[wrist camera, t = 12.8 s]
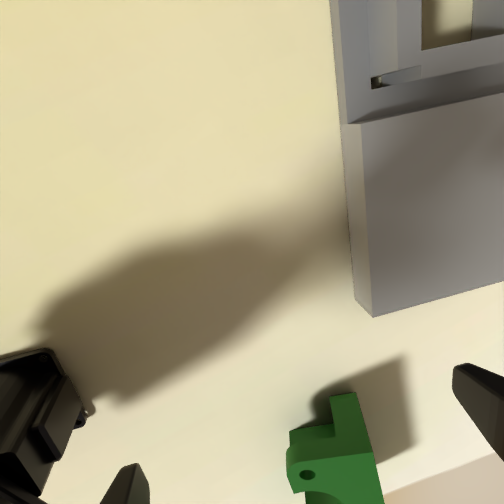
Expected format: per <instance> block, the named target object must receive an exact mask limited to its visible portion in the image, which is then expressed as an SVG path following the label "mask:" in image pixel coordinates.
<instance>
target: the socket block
mask: <svg viewBox="0 0 504 504" xmlns="http://www.w3.org/2000/svg"><path fill="white" fill-rule="evenodd" d="M329 1H330V13H331V24H332V36H333V48H334V59H335V71H336V83H337V95H338V106H339V118H340V130H341V141H342V153H343V165H344V177H345V188H346V200H347V212H348V223H349V235H350V247H351V259H352V270H353V282H354V294H355V300H356V301H357V302H358V303H359V304H360V305H361V306H362V307H363V308H364V309H365V310H366V311H367V312H368V313H369V314H370V315H371V316H372V317H373V318H374V317H377V316H381V315H384V314H388V313H391V312H395V311H399V310H402V309H406V308H409V307H413V306H416V305H420V304H423V303H427V302H431V301H434V300H438V299H441V298H445V297H448V296H452V295H455V294H459V293H463V292H466V291H470V290H473V289H477V288H480V287H484V286H487V285H491V284H495V283H498V282H502V281H504V0H473V14H472V33H471V41H467V42H462V43H457V44H452V45H447V46H442V47H437V48H432V49H427V50H422V51H421V22H422V0H329ZM378 76H381V79H382V87H381V88H377V89H372V90H371V78H373V77H378Z"/></svg>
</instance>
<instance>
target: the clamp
mask: <svg viewBox="0 0 504 504" xmlns="http://www.w3.org/2000/svg"><path fill="white" fill-rule="evenodd" d="M329 400H330V405H331V410H332V416H333V421H334V423H333V424H327V425H320V426H314V427H307V428H300V429H294V430H292V431H289V437H290V447H289V448H288V449H287V451H286V469H287V477H288V480H289V482H290V485H291V488H292V490H293V493H294V494H295V493H299V492H304V491H305V499H306V504H385V503H384V499H383V495H382V490H381V486H380V481H379V477H378V472H377V468H376V464H375V459H374V455H373V451H372V447H371V444H370V440H369V437H368V433H367V430H366V426H365V423H364V419H363V416H362V412H361V409H360V405H359V402H358V398H357V395H356V392H354V393H348V394H342V395H336V396H330V397H329Z"/></svg>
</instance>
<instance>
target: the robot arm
mask: <svg viewBox="0 0 504 504" xmlns="http://www.w3.org/2000/svg"><path fill="white" fill-rule="evenodd" d="M42 356H46V357H47V358H43V357H42ZM452 389H453V393H454V395H455V396H456V398H457V399H458V401H459V402H460V404H461V405H462V406H463V408H464V409H465V411H466V412H467V413H468V415H469V416H470V418H471V419H472V420H473V422H474V423H475V425H476V426H477V427H478V429H479V430H480V432H481V433H482V434H483V436H484V437H485V439H486V440H487V441H488V443H489V444H490V445H491V447H492V448H493V449H494V450H495V452H496V453H497V454H498V455H499V457H500V458H501V459H502V460H503V461H504V377H503V376H500V375H498V374H495V373H493V372H490V371H488V370H486V369H483V368H481V367H478V366H476V365H473V364H470V363H464V364H461V365H457V366H455V367H454V368H453V378H452ZM77 419H79V420H77ZM86 420H87V415H86V413H85V411H84V409H83V407H82V402H81V400H80V398H79V396H78V394H77V392H76V390H75V388H74V386H73V384H72V382H71V380H70V379H69V377H68V376H67V375H65V373H64V371H63V369H62V367H61V365H60V363H59V361H58V360H57V358H56V356H55V354H54V352H53V351H52V350H50V349H47V348H43V349H39V350H35V351H31V352H27V353H24V354H20V355H16V356H12V357H8V358H5V359H1V360H0V504H48V503H46V502H44V501H43V500H41V499H40V498H38V497H39V496H40V495H41V494H42V491H43V489H44V486H45V484H46V481H47V479H48V476H49V474H50V471H51V469H52V466H53V464H54V462H56V461H59V460H60V459H61V458H62V456H63V454H64V451H65V449H66V446H67V443H68V441H69V438H70V436H71V433H72V430H73V429H77V428H80V427H83V426H84V425H85V423H86ZM100 504H150V490H149V484H148V481H147V479H146V477H145V475H144V473H143V471H142V469H141V467H140V465H139V464H138V463H134V464H131V465H127V466H124V467H122V468H121V469H120V471H119V472H118V474H117V476H116V477H115V479H114V481H113V482H112V484H111V486H110V487H109V489H108V491H107V492H106V494H105V496H104V497H103V499H102V501H101V502H100Z"/></svg>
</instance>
